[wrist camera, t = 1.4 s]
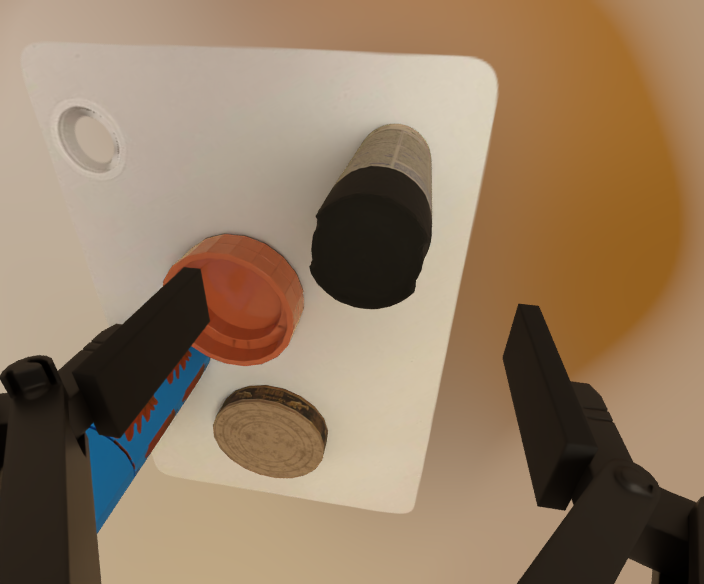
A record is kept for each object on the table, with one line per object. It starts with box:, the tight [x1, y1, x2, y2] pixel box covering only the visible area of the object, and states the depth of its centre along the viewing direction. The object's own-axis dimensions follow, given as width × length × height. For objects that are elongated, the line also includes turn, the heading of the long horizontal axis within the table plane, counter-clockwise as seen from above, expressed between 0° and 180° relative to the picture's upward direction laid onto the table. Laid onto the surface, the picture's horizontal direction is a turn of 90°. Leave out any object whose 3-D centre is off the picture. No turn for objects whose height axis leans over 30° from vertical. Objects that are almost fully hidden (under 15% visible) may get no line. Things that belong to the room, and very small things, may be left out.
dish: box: [163, 234, 304, 366], centre depth 46 cm, size 14×14×5 cm
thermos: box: [86, 346, 210, 533], centre depth 44 cm, size 11×11×25 cm
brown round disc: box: [213, 385, 328, 478], centre depth 59 cm, size 16×16×3 cm
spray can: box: [310, 124, 432, 309], centre depth 29 cm, size 7×7×20 cm
